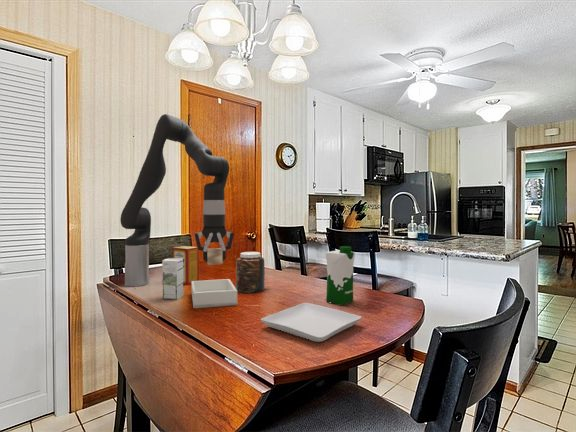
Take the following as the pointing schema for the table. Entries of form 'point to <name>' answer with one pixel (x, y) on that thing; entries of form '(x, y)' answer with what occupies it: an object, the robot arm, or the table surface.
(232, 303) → the tote
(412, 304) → the table surface
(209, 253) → the birch cube
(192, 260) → the baking soda box
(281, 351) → the table surface
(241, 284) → the jar
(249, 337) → the table surface
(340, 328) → the salad plate
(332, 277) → the milk carton
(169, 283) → the syrup box
